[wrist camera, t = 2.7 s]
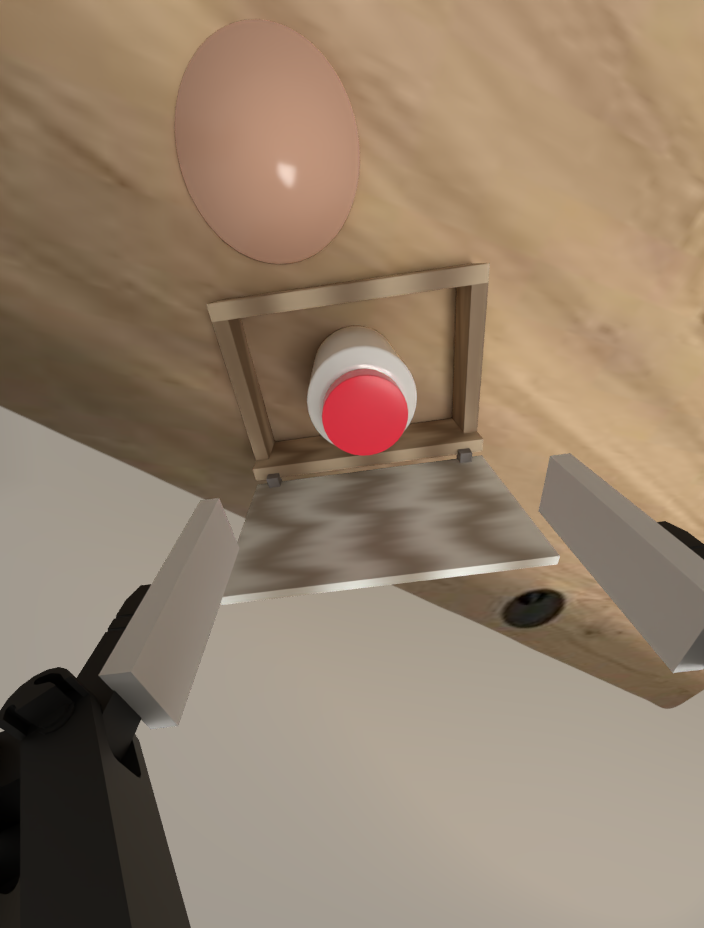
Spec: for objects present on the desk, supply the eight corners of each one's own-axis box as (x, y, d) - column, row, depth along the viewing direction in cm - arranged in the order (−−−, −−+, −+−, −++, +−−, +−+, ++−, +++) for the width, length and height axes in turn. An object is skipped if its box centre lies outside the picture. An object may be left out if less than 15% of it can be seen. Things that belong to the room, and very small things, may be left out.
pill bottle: (321, 416, 33) (316, 477, 23) (305, 333, 29) (290, 366, 19) (400, 404, 32) (427, 461, 23) (394, 318, 28) (424, 345, 19)
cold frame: (268, 463, 35) (221, 604, 20) (220, 299, 27) (85, 340, 12) (463, 437, 34) (557, 564, 20) (472, 263, 26) (641, 261, 12)
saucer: (215, 274, 26) (212, 274, 25) (147, 44, 20) (141, 36, 19) (367, 251, 26) (368, 251, 25) (347, 11, 20) (347, 2, 19)
